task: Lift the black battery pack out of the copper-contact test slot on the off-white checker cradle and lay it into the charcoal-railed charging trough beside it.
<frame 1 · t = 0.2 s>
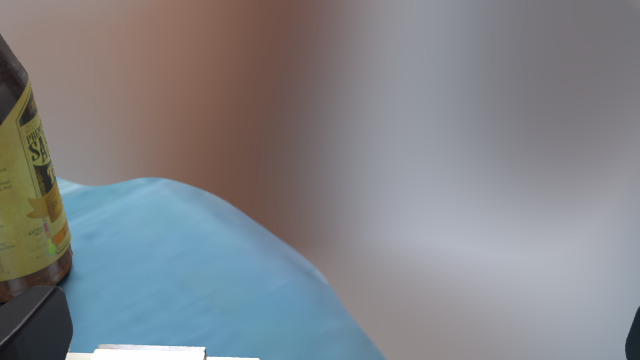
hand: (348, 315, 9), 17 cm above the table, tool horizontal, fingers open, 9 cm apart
sauce bottle: (22, 274, 36), on the table
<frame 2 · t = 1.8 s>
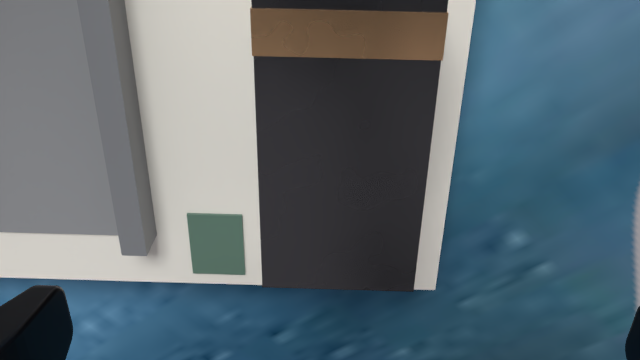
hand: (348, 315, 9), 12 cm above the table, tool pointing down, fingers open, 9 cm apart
battery: (341, 98, 17), point 3 cm above the table, touching cradle
cradle: (174, 66, 20), on the table
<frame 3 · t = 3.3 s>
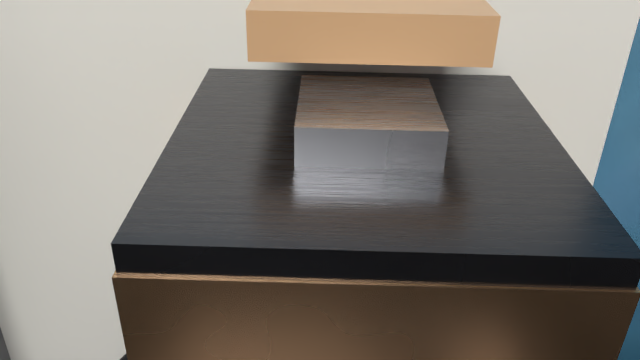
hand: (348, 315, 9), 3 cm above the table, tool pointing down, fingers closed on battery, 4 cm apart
battery: (347, 293, 10), point 3 cm above the table, touching cradle, gripper
cradle: (73, 204, 12), on the table
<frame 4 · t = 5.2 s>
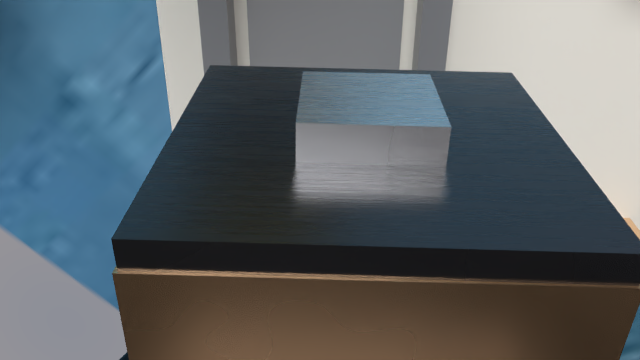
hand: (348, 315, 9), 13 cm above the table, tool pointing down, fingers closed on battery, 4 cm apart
battery: (348, 291, 10), point 13 cm above the table, touching gripper
cradle: (439, 66, 21), on the table
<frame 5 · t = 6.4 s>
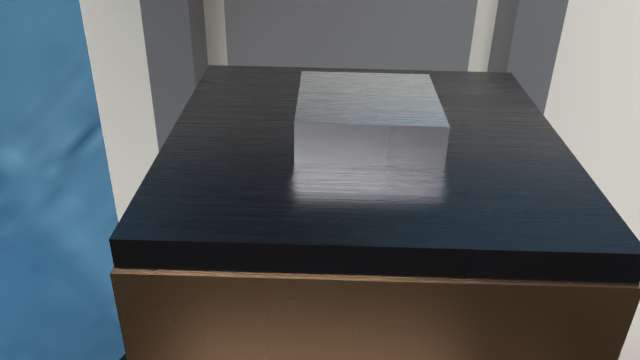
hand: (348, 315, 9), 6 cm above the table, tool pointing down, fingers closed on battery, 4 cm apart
battery: (347, 292, 10), point 6 cm above the table, touching gripper
cradle: (500, 138, 15), on the table
when the fingers open (4 cm above the table, at t = 7.1 s): battery drops 1 cm, resting on cradle.
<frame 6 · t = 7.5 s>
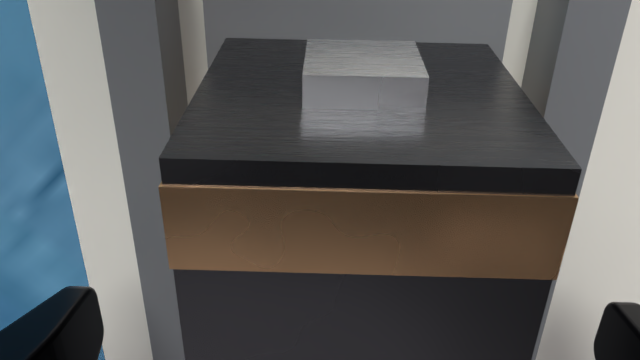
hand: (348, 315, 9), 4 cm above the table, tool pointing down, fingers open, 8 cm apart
battery: (346, 244, 11), point 3 cm above the table, touching cradle
cradle: (523, 180, 13), on the table
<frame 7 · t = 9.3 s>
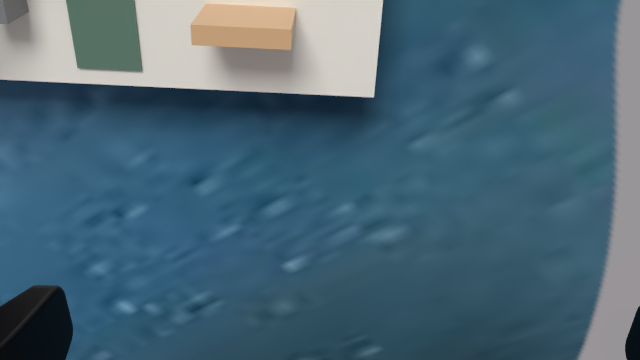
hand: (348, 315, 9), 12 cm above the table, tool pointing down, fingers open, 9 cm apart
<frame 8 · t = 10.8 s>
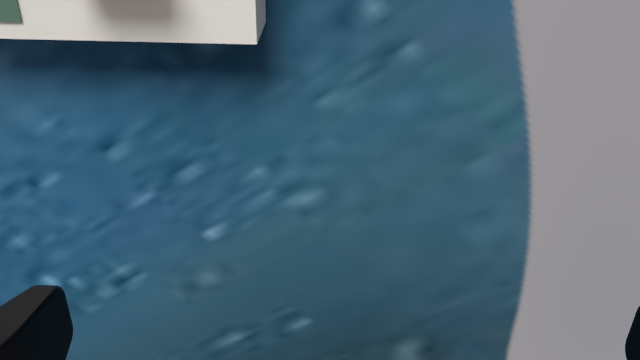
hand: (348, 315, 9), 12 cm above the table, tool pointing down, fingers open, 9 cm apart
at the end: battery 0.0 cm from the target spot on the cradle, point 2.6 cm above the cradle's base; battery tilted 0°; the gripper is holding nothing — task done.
